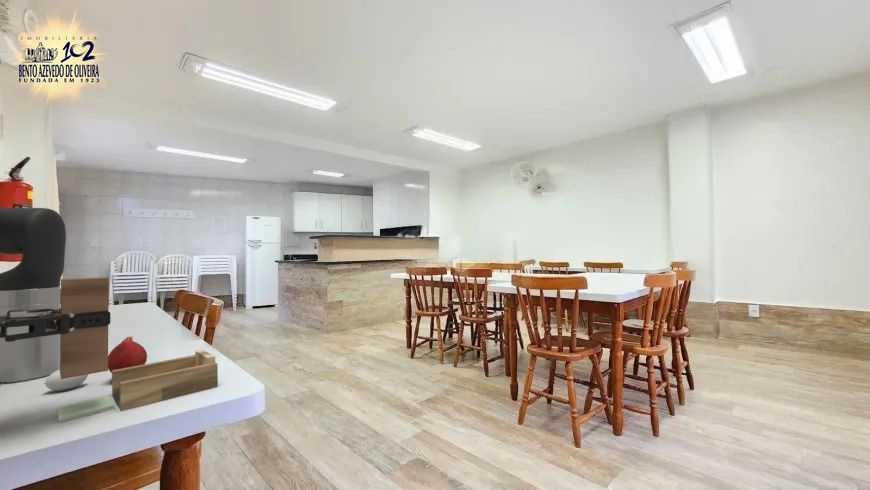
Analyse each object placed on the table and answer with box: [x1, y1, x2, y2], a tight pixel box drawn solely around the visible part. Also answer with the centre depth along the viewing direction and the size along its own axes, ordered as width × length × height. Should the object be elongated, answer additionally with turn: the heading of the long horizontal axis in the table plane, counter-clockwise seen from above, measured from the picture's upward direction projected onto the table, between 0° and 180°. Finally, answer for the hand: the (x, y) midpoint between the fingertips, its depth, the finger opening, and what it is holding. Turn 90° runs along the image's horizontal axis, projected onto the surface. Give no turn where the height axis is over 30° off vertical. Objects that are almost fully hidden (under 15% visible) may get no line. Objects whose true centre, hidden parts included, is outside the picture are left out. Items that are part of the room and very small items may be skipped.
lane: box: [111, 349, 219, 412], centre depth 63 cm, size 10×13×5 cm
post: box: [60, 276, 110, 379], centre depth 56 cm, size 5×5×14 cm
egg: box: [43, 370, 89, 392], centre depth 65 cm, size 4×6×4 cm, turn 151°
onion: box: [108, 335, 148, 374], centre depth 70 cm, size 6×6×8 cm
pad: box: [56, 395, 116, 423], centre depth 56 cm, size 6×6×1 cm
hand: (107, 316), depth 58 cm, fingers closed on post, 5 cm apart
